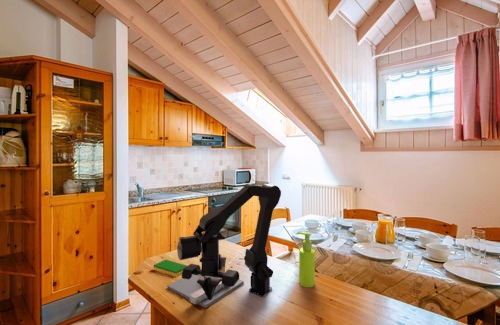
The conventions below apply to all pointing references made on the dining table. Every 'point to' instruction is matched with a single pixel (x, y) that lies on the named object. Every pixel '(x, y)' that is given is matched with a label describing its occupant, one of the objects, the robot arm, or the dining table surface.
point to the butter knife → (235, 258)
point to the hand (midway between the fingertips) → (210, 299)
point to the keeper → (222, 270)
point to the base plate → (190, 286)
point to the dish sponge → (169, 267)
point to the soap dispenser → (306, 262)
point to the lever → (203, 294)
